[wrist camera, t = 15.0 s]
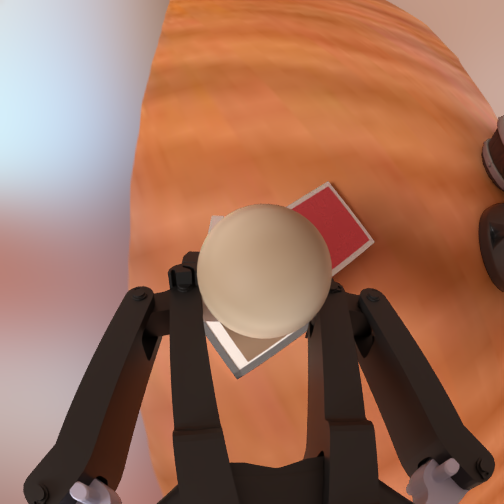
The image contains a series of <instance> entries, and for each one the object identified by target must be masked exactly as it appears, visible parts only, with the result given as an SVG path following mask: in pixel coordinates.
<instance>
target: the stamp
mask: <svg viewBox="0 0 504 504" xmlns="http://www.w3.org/2000/svg"><path fill="white" fill-rule="evenodd" d="M197 279H198V285H199V289H200V293H201V295H202V298H203V300H204V302H205V304H206V306H207V307H208V309H209V310H210V312H211V313H212V314H213V316H214V317H215V318H216V319H217V320H218V321H219V322H220V323H221V325H222V326H223V327H224V329H225V330H226V332H227V333H228V335H229V336H230V338H231V339H232V340H233V342H234V343H235V345H236V346H237V348H238V349H239V350H240V352H241V353H242V355H243V356H244V357H245V359H246V360H247V361H248V362H249V361H251V360H252V359H254V358H255V357H257V356H258V355H259V354H261V353H262V352H264V351H265V350H267V349H268V348H270V347H271V346H272V345H274V344H275V343H277V342H278V341H280V340H281V339H282V338H284V337H285V336H286V335H288V334H291V333H293V332H295V331H297V330H299V329H300V328H302V327H303V326H305V325H306V324H307V323H308V322H309V321H311V320H312V319H313V318H314V316H315V315H316V314H317V313H318V312H319V310H320V309H321V307H322V306H323V304H324V302H325V300H326V298H327V296H328V293H329V290H330V285H331V280H332V262H331V257H330V253H329V250H328V247H327V244H326V242H325V240H324V238H323V237H322V235H321V234H320V232H319V231H318V229H317V228H316V227H315V226H314V225H313V224H312V223H311V222H310V221H309V220H308V219H307V218H305V217H304V216H302V215H301V214H299V213H298V212H296V211H294V210H292V209H289V208H287V207H283V206H279V205H273V204H255V205H250V206H245V207H243V208H240V209H237V210H235V211H233V212H231V213H230V214H228V215H227V216H225V217H224V218H223V219H221V220H220V221H219V222H218V223H217V224H216V225H215V226H214V227H213V228H212V230H211V231H210V232H209V234H208V235H207V237H206V238H205V241H204V243H203V245H202V247H201V250H200V254H199V257H198V263H197Z"/></svg>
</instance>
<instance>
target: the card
mask: <svg viewBox="0 0 504 504" xmlns="http://www.w3.org/2000/svg"><path fill="white" fill-rule="evenodd" d="M203 322H204V329H205V335H206V336H207V338H208V339H209V341H210V342H211V343H212V345H213V346H214V348H215V349H216V351H217V352H218V354H219V355H220V356H221V358H222V359H223V361H224V362H225V363H226V365H227V366H228V367H229V369H230V370H231V372H232V373H233V374H234V376H235V377H236V378H237V379H239V378H240V377H242V376H243V375H245V374H247V373H248V372H250V371H251V370H253V369H254V368H256V367H257V366H259V365H260V364H262V363H263V362H264V361H266V360H267V359H269V358H270V357H272V356H273V355H275V354H276V353H277V352H279V351H280V350H282V349H283V348H284V347H286V346H287V345H289V344H290V343H291V342H293V341H294V340H295V339H297V338H298V337H299V336H301V335H302V334H303V333H305V332H306V331H307V329H308V325H309V322H308V323H307V324H306V325H305V326H303V327H302V328H300V329H299V330H297V331H295V332H293V333H291V334H288V335H286V336H285V337H284V338H282V339H281V340H280V341H278V342H277V343H275V344H274V345H272V346H271V347H270V348H268V349H267V350H265V351H264V352H262V353H261V354H259V355H258V356H257V357H255V358H254V359H252V360H251V361H249V362H248V361H247V360H246V359H245V357H244V356H243V355H242V353H241V352H240V350H239V349H238V348H237V346H236V345H235V343H234V342H233V340H232V339H231V338H230V336H229V335H228V333H227V332H226V330H225V329H224V327H223V326H222V325H221V323H220V322H209V321H203Z"/></svg>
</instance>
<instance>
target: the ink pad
mask: <svg viewBox="0 0 504 504" xmlns="http://www.w3.org/2000/svg"><path fill="white" fill-rule="evenodd" d="M287 208H289V209H292V210H294V211H296V212H298V213H299V214H301V215H302V216H304V217H305V218H307V219H308V220H309V221H310V222H311V223H312V224H313V225H314V226H315V227H316V228H317V229H318V231H319V232H320V234H321V235H322V237H323V238H324V240H325V242H326V244H327V247H328V250H329V253H330V257H331V262H332V276H334V275H335V274H336V273H338V272H339V271H340V270H341V269H343V268H344V267H345V266H346V265H348V264H349V263H350V262H351V261H353V260H354V259H355V258H356V257H358V256H359V255H360V254H361V253H362V252H364V251H365V250H366V249H367V248H369V247H370V246H371V245H372V244H373V243H374V240H373V239H372V237H371V236H370V235H369V233H368V232H367V231H366V229H365V228H364V227H363V225H362V224H361V223H360V221H359V220H358V219H357V217H356V216H355V215H354V213H353V212H352V211H351V209H350V208H349V207H348V206H347V204H346V203H345V202H344V200H343V199H342V198H341V197H340V195H339V194H338V193H337V192H336V191H335V189H334V188H333V187H332V186H331V184H330V183H329V182H326V183H324V184H323V185H321V186H319V187H318V188H316V189H315V190H313V191H311V192H310V193H308V194H306V195H305V196H303V197H301V198H300V199H298V200H297V201H295V202H293V203H292V204H290V205H289V206H287Z"/></svg>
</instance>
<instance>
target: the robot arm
mask: <svg viewBox="0 0 504 504" xmlns="http://www.w3.org/2000/svg"><path fill="white" fill-rule="evenodd" d="M223 218H224V216H212V218H211V222H210V227H209V231H208V234H209V232H210V231H211V230H212V228H213V227H214V226H215V225H216V224H217V223H218V222H219V221H220V220H221V219H223ZM479 242H480V248H481V253H482V257H483V261H484V264H485V267H486V269H487V272H488V274H489V276H490V278H491V280H492V281H493V283H494V284H495V285H496V287H497V288H499V289H500V290H501V291H503V292H504V203H500V204H495V205H493V206H491V207H489V208H488V209H486V210H485V211H484V212H483V214H482V216H481V219H480V223H479ZM199 254H200V252H188V253H187V254H186V255H185V256H184V257H183V261H182V264H179V265H176V266H173V267H172V268H171V269H169V271H168V277H169V285H170V290H167V291H165V292H161V293H155V294H154V293H153V291H152V290H151V289H150V288H148V287H144V286H143V287H135V288H133V289H131V290H129V291H128V292H127V294H126V295H125V297H124V299H123V300H122V302H121V304H120V306H119V308H118V309H117V311H116V313H115V315H114V317H113V319H112V320H111V322H110V324H109V326H108V328H107V330H106V332H105V334H104V336H103V338H102V339H101V342H100V343H99V345H98V348H97V349H96V351H95V354H94V355H93V357H92V359H91V362H90V364H89V366H88V368H87V370H86V372H85V374H84V376H83V378H82V381H81V383H80V385H79V387H78V390H77V392H76V394H75V396H74V399H73V401H72V404H71V406H70V408H69V411H68V413H67V416H66V418H65V420H64V423H63V426H62V428H61V431H60V433H59V436H58V439H57V441H56V444H55V445H54V446H53V448H52V449H51V450H50V451H49V452H48V454H47V455H46V456H45V457H44V458H43V459H42V461H41V462H40V463H39V464H38V465H37V467H36V468H35V469H34V470H33V471H32V473H31V474H30V475H29V476H28V477H27V479H26V481H25V483H24V489H23V490H24V495H25V498H26V500H27V502H28V503H29V504H122V502H121V499H120V497H119V496H118V494H117V493H116V492H115V491H116V489H117V487H118V484H119V482H120V480H121V478H122V474H123V471H124V467H125V463H126V459H127V455H128V451H129V447H130V443H131V440H132V436H133V432H134V428H135V425H136V421H137V417H138V414H139V410H140V407H141V403H142V400H143V397H144V393H145V390H146V386H147V383H148V380H149V377H150V373H151V370H152V367H153V364H154V361H155V358H156V355H157V352H158V348H159V345H160V342H161V339H162V336H164V335H169V334H170V366H171V388H172V404H173V417H174V431H173V447H174V456H175V465H176V472H177V480H178V485H176V486H175V487H174V488H173V489H172V490H171V491H170V492H169V493H168V494H167V495H166V496H165V497H164V498H162V500H160V501H159V502H158V503H157V504H458V503H459V502H460V500H461V499H462V498H463V497H464V495H465V494H466V493H467V492H468V491H469V490H471V489H472V488H474V487H476V486H478V485H480V484H482V483H483V482H485V481H487V480H488V479H489V478H490V477H491V476H492V474H493V472H494V467H495V462H494V458H493V456H492V455H491V453H490V452H489V451H488V450H487V449H486V448H485V447H484V446H483V445H482V444H481V443H480V442H479V441H478V440H477V439H476V438H475V437H474V436H473V434H472V433H471V432H470V431H469V430H468V429H467V428H466V427H465V426H464V425H463V423H462V421H461V419H460V417H459V415H458V414H457V412H456V410H455V408H454V406H453V404H452V402H451V400H450V399H449V397H448V395H447V393H446V391H445V390H444V388H443V386H442V384H441V383H440V381H439V379H438V377H437V376H436V374H435V372H434V371H433V369H432V367H431V366H430V364H429V362H428V361H427V359H426V357H425V356H424V354H423V353H422V351H421V349H420V348H419V346H418V345H417V343H416V342H415V340H414V338H413V337H412V335H411V334H410V332H409V331H408V329H407V328H406V326H405V325H404V323H403V322H402V320H401V319H400V317H399V316H398V314H397V313H396V311H395V310H394V309H393V307H392V306H391V304H390V303H389V301H388V300H387V299H386V297H385V296H384V295H383V294H382V293H381V292H380V291H378V290H376V289H371V288H367V289H363V290H362V291H361V293H360V295H354V294H350V293H346V292H345V290H344V288H343V286H341V285H340V284H339V283H337V282H334V280H333V278H332V280H331V285H330V290H329V293H328V296H327V298H326V300H325V302H324V304H323V306H322V307H321V309H320V310H319V312H318V313H317V314H316V315H315V316H314V318H313V319H312V320H311V321H309V325H308V329H307V333H306V337H305V338H308V418H307V444H306V451H305V455H304V459H303V460H302V461H299V462H296V463H293V464H290V465H287V466H284V467H280V468H271V467H265V466H259V465H254V464H249V463H229V458H228V454H227V449H226V445H225V440H224V435H223V431H222V427H221V424H220V419H219V414H218V409H217V403H216V398H215V392H214V387H213V381H212V375H211V369H210V363H209V356H208V350H207V343H206V336H205V329H204V322H203V321H209V322H219V321H218V320H217V319H216V318H215V317H214V316H213V314H212V313H211V312H210V310H209V309H208V307H207V306H206V304H205V302H204V300H203V298H202V295H201V293H200V289H199V285H198V279H197V263H198V257H199ZM358 362H359V364H360V366H361V369H362V371H363V373H364V375H365V378H366V380H367V382H368V384H369V387H370V389H371V391H372V394H373V396H374V398H375V401H376V403H377V405H378V408H379V410H380V413H381V415H382V417H383V420H384V422H385V425H386V427H387V430H388V432H389V435H390V437H391V440H392V442H393V445H394V448H395V450H396V453H397V455H398V458H399V460H400V462H401V464H402V466H403V468H404V470H405V471H406V473H407V474H408V476H409V477H410V480H409V484H408V485H407V487H406V491H407V493H408V494H409V495H412V496H413V502H411V501H410V500H408V499H406V498H405V497H403V496H402V495H400V494H399V493H397V492H396V491H395V490H393V489H392V488H390V487H389V486H387V485H386V484H385V483H383V482H382V481H380V480H379V479H378V464H377V451H376V440H375V430H374V426H373V423H372V422H371V421H369V420H367V419H366V417H365V409H364V401H363V393H362V385H361V378H360V371H359V365H358Z"/></svg>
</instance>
